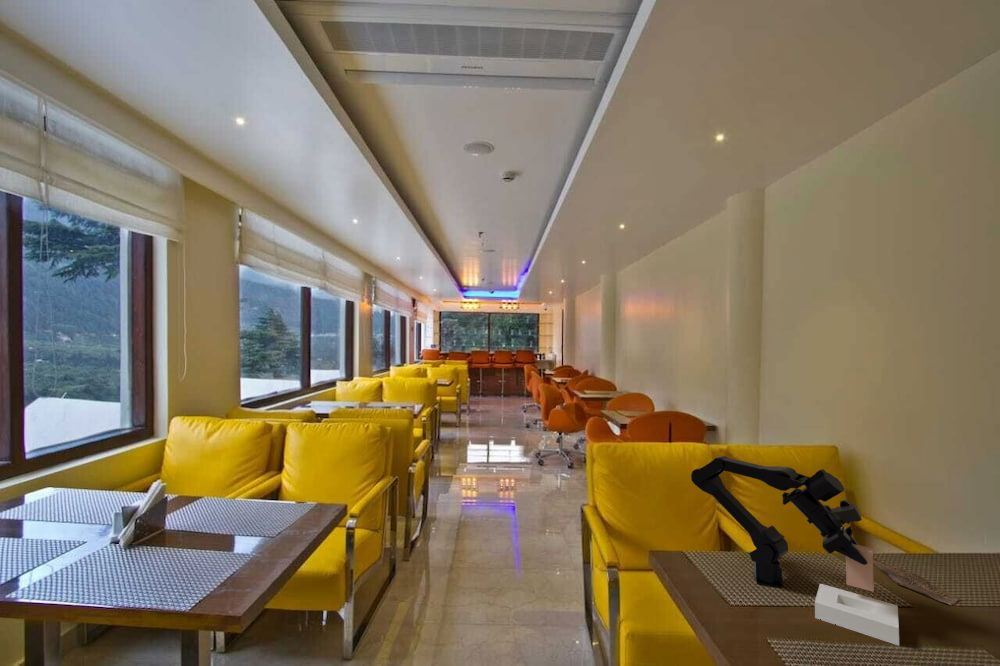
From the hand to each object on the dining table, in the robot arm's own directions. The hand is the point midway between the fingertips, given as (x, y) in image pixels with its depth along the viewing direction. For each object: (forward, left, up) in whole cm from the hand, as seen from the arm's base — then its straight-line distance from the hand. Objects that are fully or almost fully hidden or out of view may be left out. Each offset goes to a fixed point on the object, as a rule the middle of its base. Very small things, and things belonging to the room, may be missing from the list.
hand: (865, 561), depth 114 cm
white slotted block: (-4, -4, -14) cm, 15 cm away
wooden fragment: (+19, +24, -14) cm, 34 cm away
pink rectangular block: (-1, 0, -7) cm, 7 cm away
